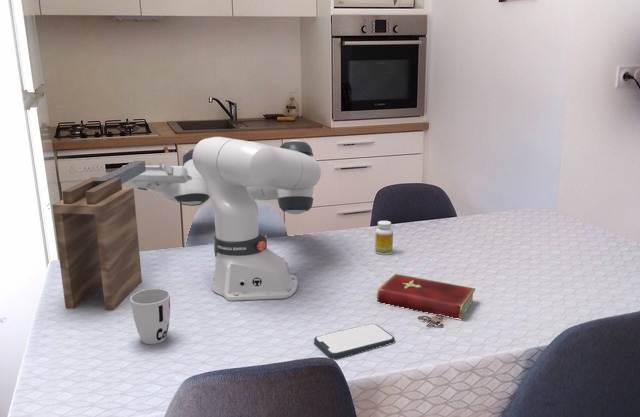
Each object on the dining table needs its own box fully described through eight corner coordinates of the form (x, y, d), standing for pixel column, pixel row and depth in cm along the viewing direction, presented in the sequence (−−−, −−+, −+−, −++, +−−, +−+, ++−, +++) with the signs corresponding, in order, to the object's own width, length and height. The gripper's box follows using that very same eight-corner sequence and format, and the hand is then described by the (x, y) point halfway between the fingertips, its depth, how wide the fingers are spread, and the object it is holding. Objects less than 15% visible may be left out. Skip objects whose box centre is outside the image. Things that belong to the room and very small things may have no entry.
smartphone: (374, 328, 135) (311, 343, 127) (374, 322, 134) (311, 336, 127) (397, 345, 127) (331, 362, 120) (397, 338, 127) (331, 355, 119)
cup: (162, 349, 124) (159, 305, 122) (127, 345, 126) (123, 302, 123) (179, 331, 132) (176, 290, 129) (145, 328, 134) (141, 287, 131)
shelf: (141, 281, 160) (132, 176, 152) (113, 310, 143) (100, 193, 135) (99, 279, 161) (87, 175, 154) (65, 308, 144) (50, 192, 136)
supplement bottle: (372, 250, 184) (373, 220, 181) (389, 248, 185) (389, 219, 182) (377, 256, 179) (378, 225, 176) (394, 254, 180) (395, 224, 177)
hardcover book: (460, 322, 137) (462, 305, 136) (376, 304, 147) (377, 288, 146) (474, 303, 147) (475, 287, 146) (394, 287, 157) (395, 272, 156)
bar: (145, 171, 173) (144, 160, 172) (106, 192, 148) (105, 180, 147) (135, 170, 173) (134, 160, 172) (94, 192, 148) (93, 180, 147)
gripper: (192, 189, 188) (179, 176, 175) (130, 188, 190) (112, 175, 177) (194, 170, 190) (181, 156, 177) (132, 169, 192) (114, 155, 178)
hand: (146, 165), depth 177 cm, fingers open, 8 cm apart
